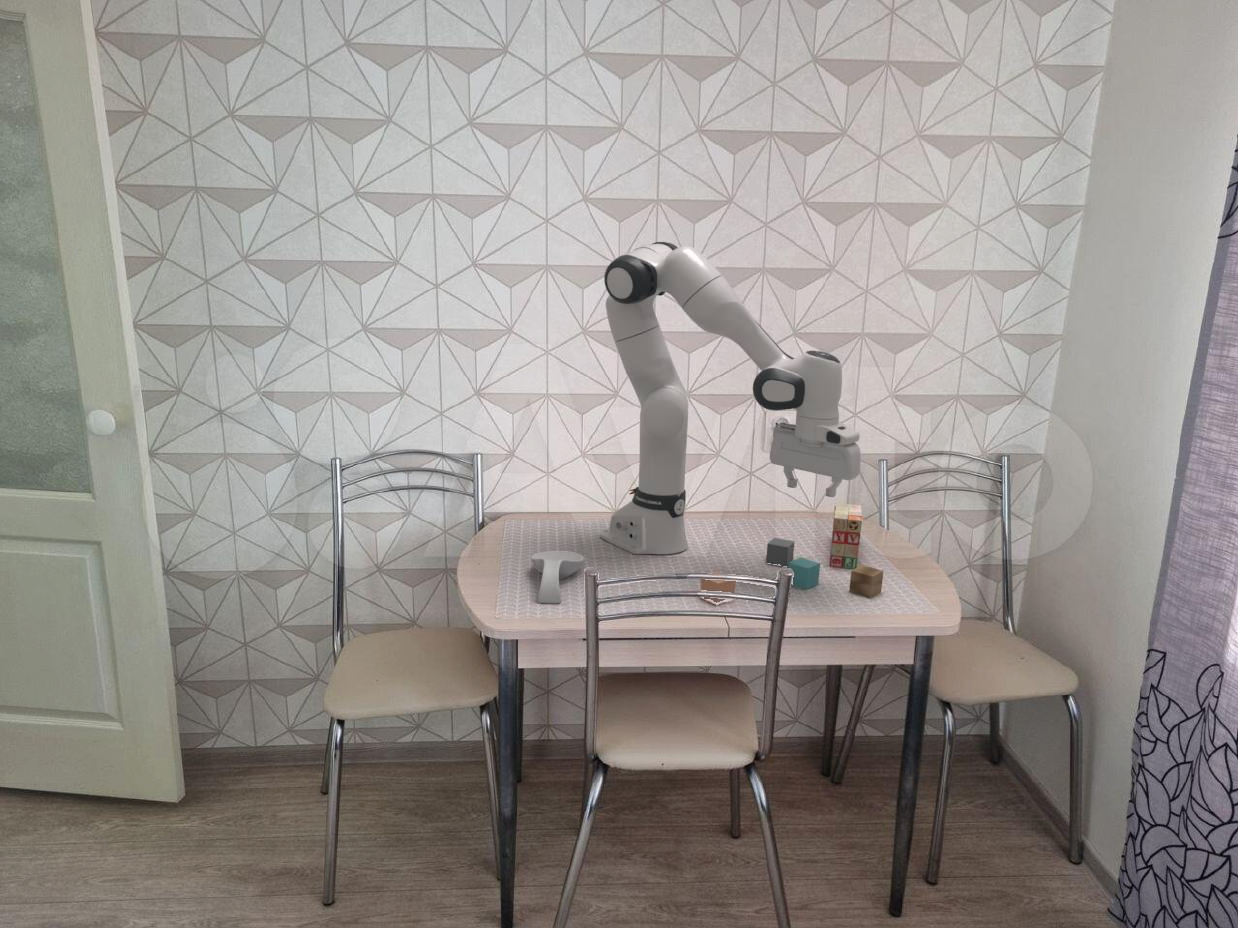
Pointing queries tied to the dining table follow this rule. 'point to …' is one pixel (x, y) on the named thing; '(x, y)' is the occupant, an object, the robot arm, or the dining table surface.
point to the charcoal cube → (780, 551)
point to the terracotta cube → (717, 586)
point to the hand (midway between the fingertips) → (810, 491)
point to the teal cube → (805, 573)
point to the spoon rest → (555, 572)
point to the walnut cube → (866, 581)
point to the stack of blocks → (846, 536)
